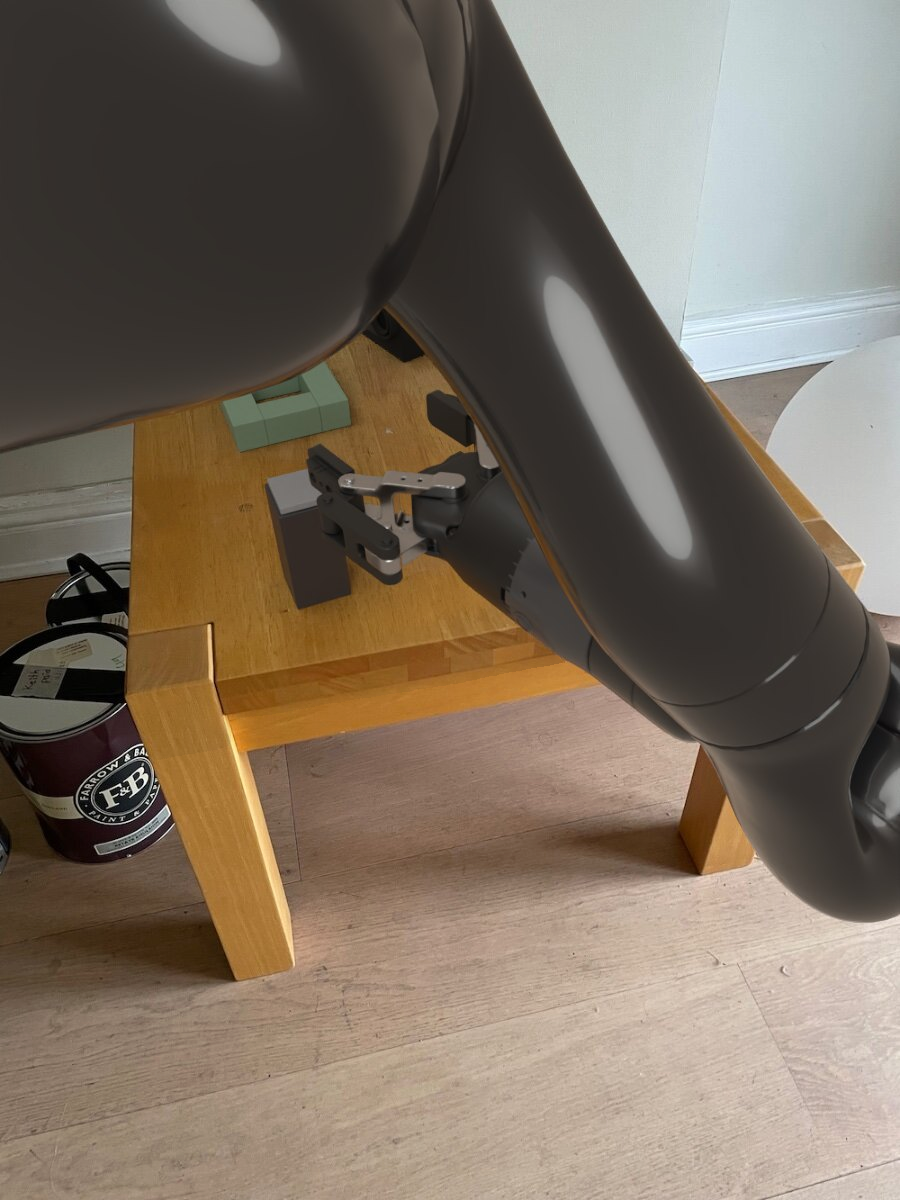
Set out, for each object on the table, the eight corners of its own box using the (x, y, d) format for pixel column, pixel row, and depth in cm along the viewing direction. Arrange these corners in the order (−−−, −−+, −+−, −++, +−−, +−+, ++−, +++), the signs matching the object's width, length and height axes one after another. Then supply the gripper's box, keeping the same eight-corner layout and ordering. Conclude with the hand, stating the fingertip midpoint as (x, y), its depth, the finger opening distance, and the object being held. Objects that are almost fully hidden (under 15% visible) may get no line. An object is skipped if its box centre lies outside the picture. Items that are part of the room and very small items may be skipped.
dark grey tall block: (297, 610, 71) (277, 511, 64) (283, 575, 74) (262, 477, 67) (351, 594, 72) (337, 495, 65) (335, 560, 75) (320, 462, 68)
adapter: (239, 452, 87) (233, 426, 84) (215, 395, 94) (209, 370, 92) (351, 425, 89) (348, 399, 87) (319, 371, 97) (315, 346, 95)
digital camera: (345, 331, 104) (338, 273, 99) (383, 317, 106) (379, 259, 101) (395, 366, 98) (390, 306, 93) (435, 351, 100) (432, 291, 95)
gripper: (676, 447, 44) (464, 332, 53) (455, 577, 38) (258, 422, 47) (657, 560, 49) (467, 438, 58) (460, 691, 43) (282, 531, 52)
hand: (374, 431), depth 53 cm, fingers open, 8 cm apart
